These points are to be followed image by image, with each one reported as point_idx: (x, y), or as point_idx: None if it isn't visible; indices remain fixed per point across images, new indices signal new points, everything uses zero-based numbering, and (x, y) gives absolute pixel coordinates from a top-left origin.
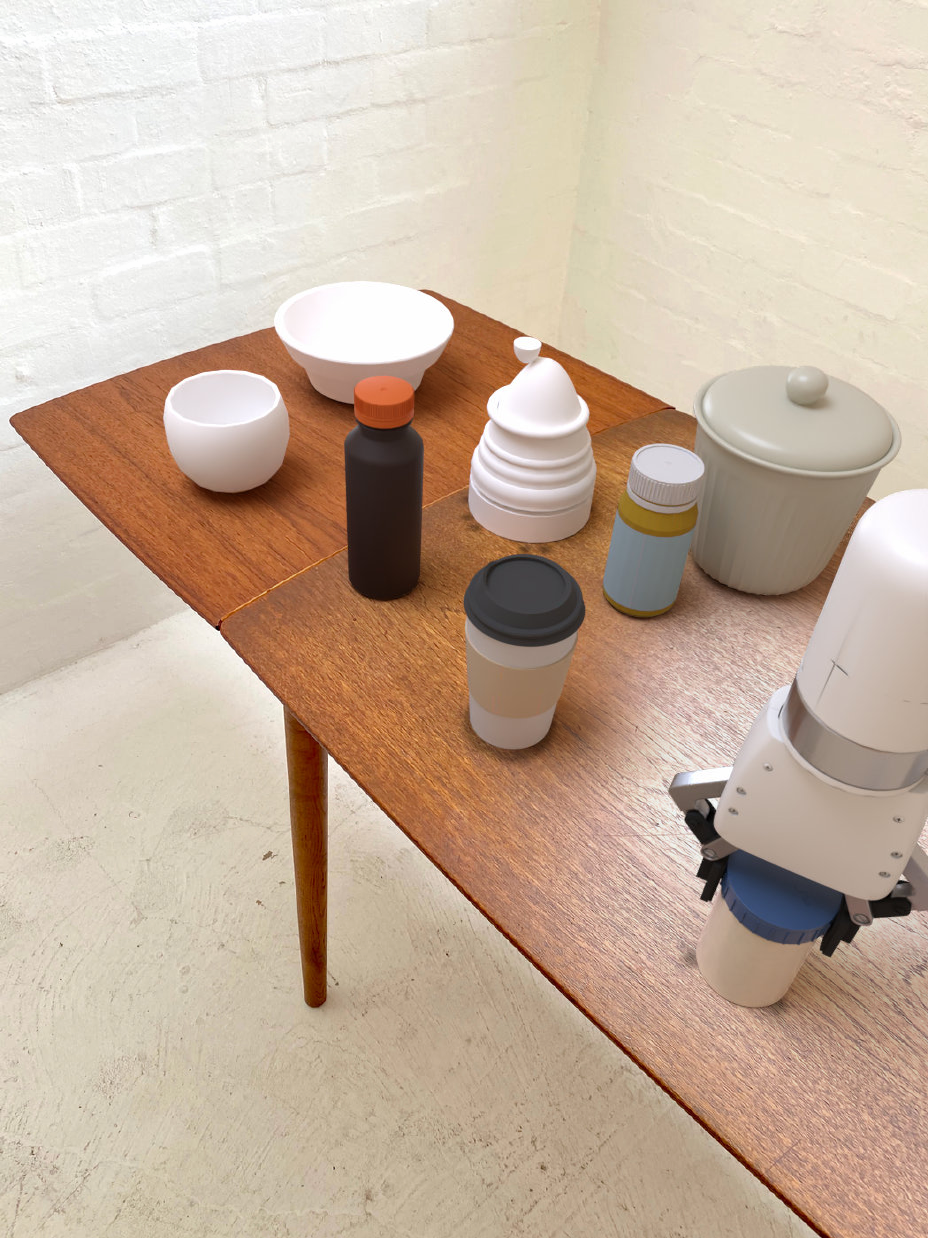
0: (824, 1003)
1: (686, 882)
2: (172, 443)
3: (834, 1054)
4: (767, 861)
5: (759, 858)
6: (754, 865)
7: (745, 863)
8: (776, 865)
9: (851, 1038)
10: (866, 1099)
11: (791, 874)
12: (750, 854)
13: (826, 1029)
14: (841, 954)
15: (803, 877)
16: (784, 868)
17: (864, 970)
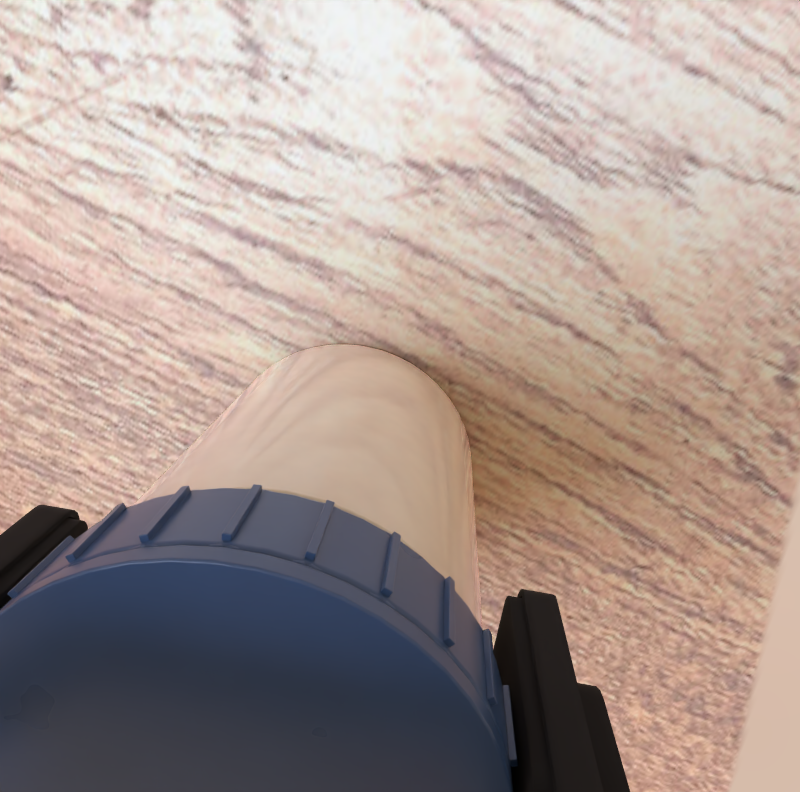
0: (555, 506)
1: (154, 273)
2: None
3: (575, 613)
4: (118, 751)
5: (74, 749)
6: (63, 790)
7: (21, 787)
8: (165, 763)
9: (617, 570)
10: (641, 682)
11: (248, 789)
12: (27, 737)
13: (558, 565)
14: (605, 358)
15: (309, 788)
16: (208, 766)
17: (668, 386)
